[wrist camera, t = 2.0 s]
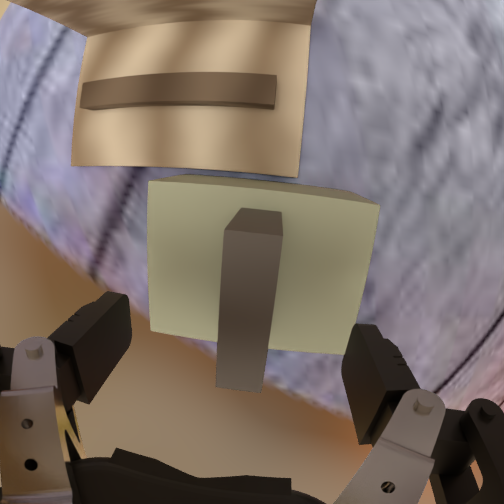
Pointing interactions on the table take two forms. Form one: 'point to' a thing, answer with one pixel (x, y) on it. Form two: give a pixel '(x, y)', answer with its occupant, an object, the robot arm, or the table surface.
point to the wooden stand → (189, 82)
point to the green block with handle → (256, 267)
